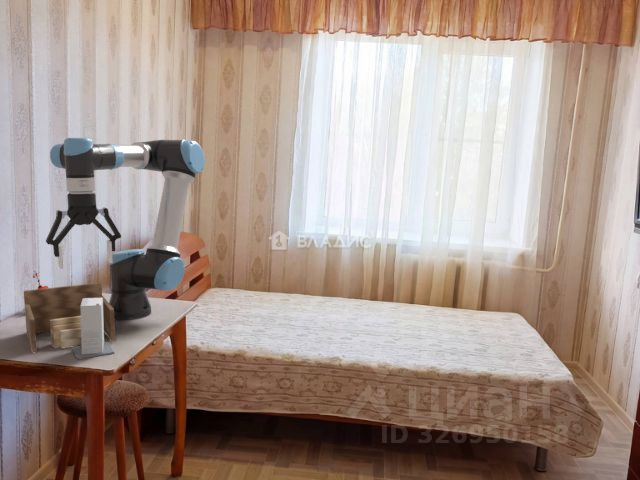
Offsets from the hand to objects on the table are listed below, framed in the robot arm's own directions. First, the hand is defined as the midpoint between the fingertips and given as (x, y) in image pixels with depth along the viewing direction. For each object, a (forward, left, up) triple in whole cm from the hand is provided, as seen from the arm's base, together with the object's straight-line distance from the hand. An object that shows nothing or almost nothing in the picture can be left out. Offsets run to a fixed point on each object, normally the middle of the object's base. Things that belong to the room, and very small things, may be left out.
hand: (86, 265), depth 171 cm
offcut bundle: (+4, -7, -26) cm, 27 cm away
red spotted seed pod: (+8, -50, -26) cm, 57 cm away
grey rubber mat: (0, +3, -25) cm, 26 cm away
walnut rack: (+4, -15, -25) cm, 30 cm away
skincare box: (0, +3, -25) cm, 25 cm away
